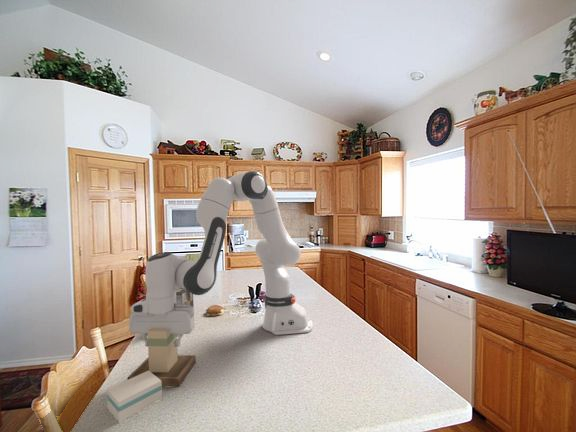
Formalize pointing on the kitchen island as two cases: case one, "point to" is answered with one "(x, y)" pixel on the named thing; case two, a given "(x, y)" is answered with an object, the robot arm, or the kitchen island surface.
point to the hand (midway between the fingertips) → (163, 345)
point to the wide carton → (134, 395)
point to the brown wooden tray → (174, 374)
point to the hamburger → (215, 310)
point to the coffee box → (184, 297)
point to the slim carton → (161, 350)
